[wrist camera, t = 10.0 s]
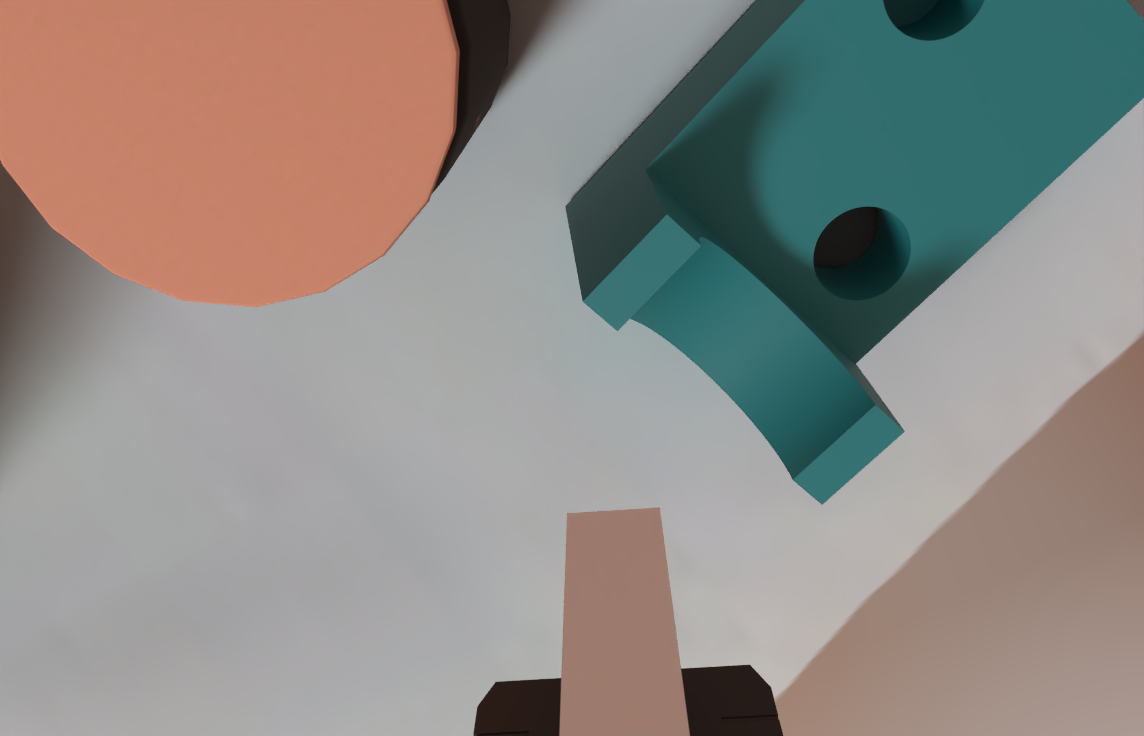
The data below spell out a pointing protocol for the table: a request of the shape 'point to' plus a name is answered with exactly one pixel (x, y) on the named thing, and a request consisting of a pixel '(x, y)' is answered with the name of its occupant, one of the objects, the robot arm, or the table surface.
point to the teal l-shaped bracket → (840, 190)
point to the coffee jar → (241, 130)
